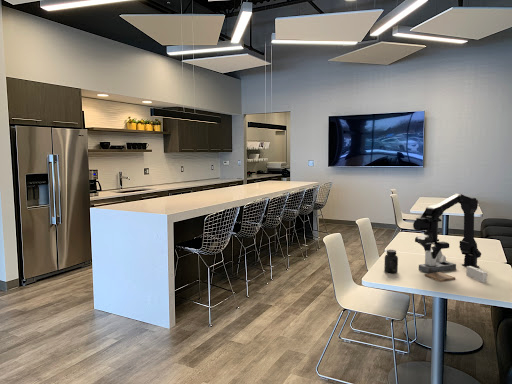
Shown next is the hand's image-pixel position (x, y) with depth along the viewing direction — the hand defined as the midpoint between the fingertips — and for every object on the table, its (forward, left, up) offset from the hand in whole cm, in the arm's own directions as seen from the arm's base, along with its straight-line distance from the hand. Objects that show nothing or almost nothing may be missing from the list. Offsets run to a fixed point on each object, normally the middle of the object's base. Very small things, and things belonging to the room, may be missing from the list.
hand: (430, 257), depth 208 cm
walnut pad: (+5, +11, -7) cm, 14 cm away
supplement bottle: (+22, -6, -8) cm, 24 cm away
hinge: (-20, -14, -8) cm, 26 cm away
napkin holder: (-11, +19, -8) cm, 23 cm away
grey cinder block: (-5, 0, -7) cm, 9 cm away
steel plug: (0, 0, -4) cm, 4 cm away
